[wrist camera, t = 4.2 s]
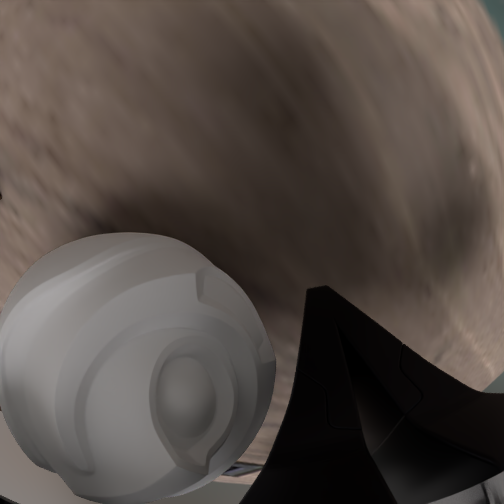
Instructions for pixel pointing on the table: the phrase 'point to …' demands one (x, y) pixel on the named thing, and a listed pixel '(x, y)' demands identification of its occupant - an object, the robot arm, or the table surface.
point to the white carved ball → (132, 367)
